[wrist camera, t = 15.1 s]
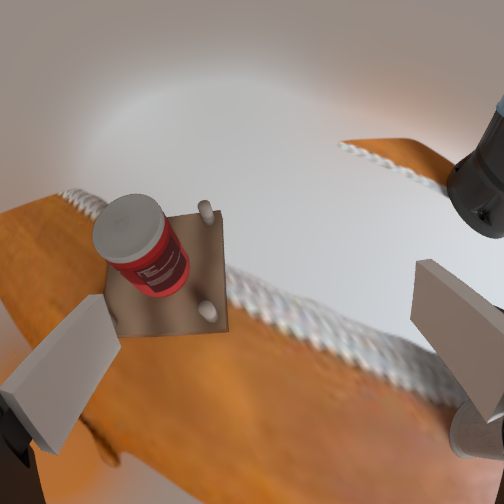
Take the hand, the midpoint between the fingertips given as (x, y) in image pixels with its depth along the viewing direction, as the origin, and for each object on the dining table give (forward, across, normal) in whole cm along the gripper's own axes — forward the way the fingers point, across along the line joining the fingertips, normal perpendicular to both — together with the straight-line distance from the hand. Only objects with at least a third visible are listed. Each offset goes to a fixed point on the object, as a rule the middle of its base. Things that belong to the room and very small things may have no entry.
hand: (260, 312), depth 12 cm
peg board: (+26, -13, -8) cm, 30 cm away
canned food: (+24, -13, -7) cm, 28 cm away
